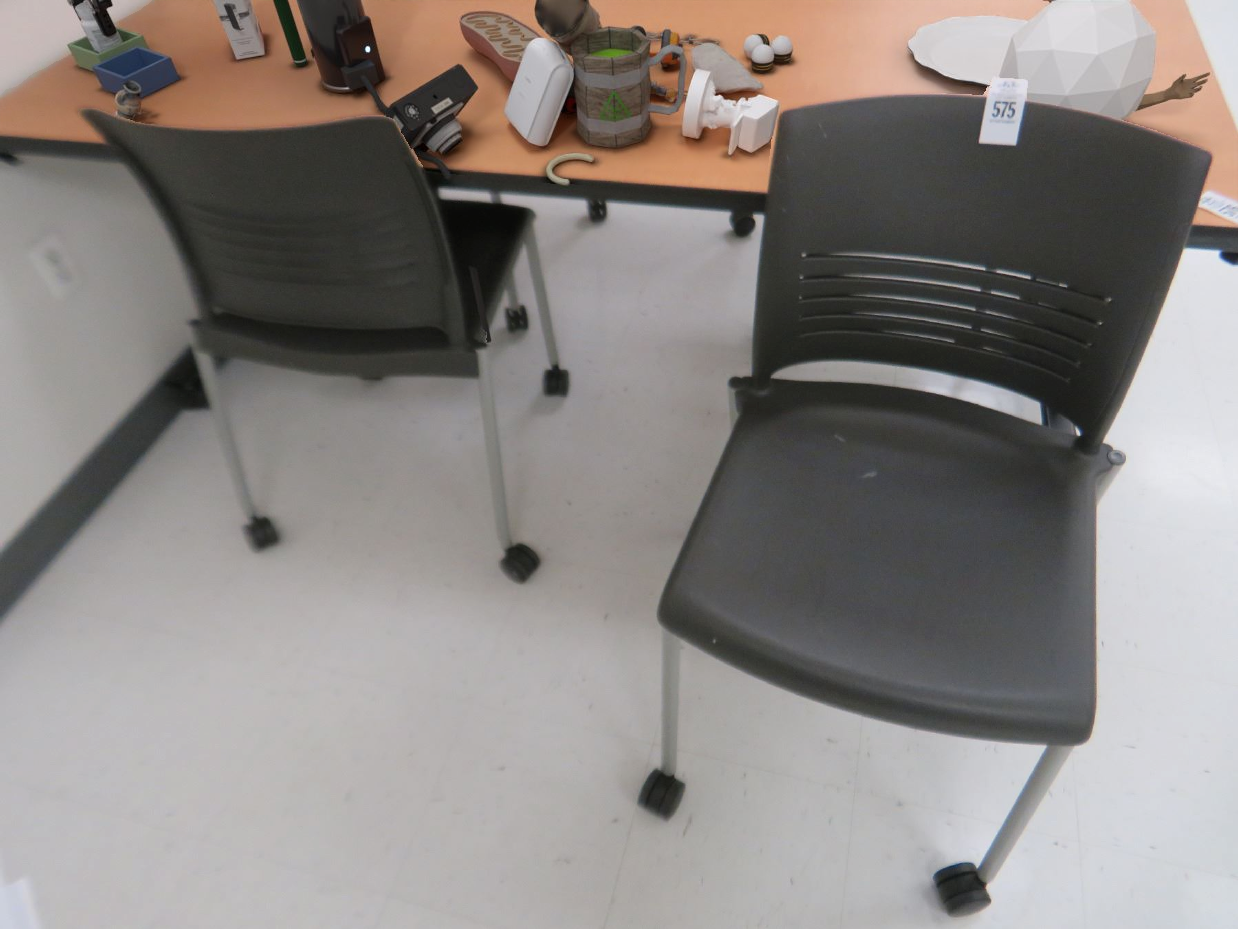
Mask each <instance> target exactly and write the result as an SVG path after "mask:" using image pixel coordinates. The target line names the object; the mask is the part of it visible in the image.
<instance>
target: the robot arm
mask: <svg viewBox="0 0 1238 929" xmlns="http://www.w3.org/2000/svg"><path fill="white" fill-rule="evenodd" d="M66 2H67V4H68V5H69V6H70V7H72V9H73V11H74V12H75V14H76V16H77V19H78V20H79V22H80V21H81V18H80V17H79V16H78V13H77V11H76V9H75V7H76V6H77V5H78V4H80V3H83V2H86V4H87V5H88V7H89V8H90V10H91V11H92V14H93V16H94V18H95V20H96V22H97V24H98V26H99V28H100V30H101V32H102V34H103V35H104V36H106V37H110V36H112V35H114V34H116V33H117V30H116V28H115V26H116V25H115V23H114V21H113V19H112V17H111V15H110V13H109V11H108V9H109V8H112V7H113V6H114V4H113V1H112V0H66ZM92 2H93V3H92ZM296 3H297V6H298V9H299V12H300V16H301V17H302V22H303V25H304V28H305V31H306V34H307V37H308V41H309V44H310V48H311V49H310V53H311V54H310V55H311V56H312V59H313V60H315V62H316V66H317V68H318V72H319V75H320V81H321V84H322V86H323V88H324V89H325V90H327V91H329V92H333V93H336V94H337V93H339V94H349V93H351V94H352V93H354V94H358V95H359V94H361V93H363V92H365V91H366V90H367V91H368V92H369V94H370V95H371V97H372V99H373V101H374V103H375V106H376V107H377V108H378V110H380V111H381V112H382V113H384V114H385V113H386V111H387V109H388V108H389V106H387V105H386V104H384V102H383V101H382V99H381V97H380V94H379V93H378V91H377V89H376V88H375V85H376V84H378V83H380V82H382V81H383V80H385V79H386V74H385V70H384V65H383V63H382V58H381V54H380V51H379V47H378V44H377V43H378V42H377V39H376V35H375V31H374V27H373V23H372V20H371V17H370V16H369V15H366V13H365V9H364V5H363V1H362V0H296ZM113 23H114V24H113ZM114 25H115V26H114ZM412 150H413V152H414V155H416V157H417V158H419V159H421V160H423V161H426V162H428V163H429V162H430V163H431V164H434V165H435V166H436V167H437V168H438V169H439V171H440V172H441V174H442V176H443V177H444V179H445V180H451V179H452V178H453V175H452V173H451V171H450V170H449V168H448V167H447V165H446V163H444V161H443V160H442V159H440V158H439V157H437V156H436V155H433V154H431V153H428V152H425V151H423V150H422V149H421V146H420V144H419V145H418V146H416V147H415V148H413V149H412ZM468 268H469V272H470V277H471V282H472V287H473V290H474V297H475V300H476V306H477V310H478V315H479V319H480V324H481V328H482V327H483V329H484V330H485V332H487V338H486V340H487V342H486V343H488V344H489V343H491V342H492V337H491V332H490V327H489V322H488V317H487V313H486V308H485V304H484V298H483V292H482V288H481V283H480V279H479V273H478V269H477V267H474V266H471V265H468ZM483 329H482V330H483ZM485 335H486V333H485Z"/></svg>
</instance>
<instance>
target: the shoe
mask: <svg viewBox="0 0 1238 929" xmlns="http://www.w3.org/2000/svg"><path fill="white" fill-rule="evenodd" d="M458 20H459V25H460V26H459V27H460V31H461V34H462V36H463V38H464V40H465V41H466V42H467V44H468V45H469V46H470V47H471V48H472V49H474V50H475V51H477V52H479V53H480V54H482V55H483V56H485V57H486V58H488V59H489V60H491V61H492V62H493V63H494V64H495V65H496V66H498V68H499V69H500V70H501V72H502V73H503V74H504V76H505V77H506V78H507V79H508V80H509V81H510V82H512V83H514V80H515V77H516V74H517V72H518V69H519V66H520V63H521V60H522V58H523V55H524V52H525V50H526V47H527V45H528V44H529V43H530V42H531V41H532V40H533V39H535V38H545V37H544V36H543V35H542V34H540V33H539V32H538V31H537V30H535V29H534V28H532V27H530V26H529V25H528V24H526V23H524V22H523V21H521V20H519V19H518V18H515V17H513V16H512V15H509V14H507V13H504V12H500V11H495V10H474V11H467V12H464V13H462V15H460V16H459V19H458Z"/></svg>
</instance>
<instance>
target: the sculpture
mask: <svg viewBox="0 0 1238 929" xmlns="http://www.w3.org/2000/svg"><path fill="white" fill-rule="evenodd" d="M534 16H535V20H536V22H537V24H538V25H539V27H540V28H541V29H542V30H544V32H545V34H547V35H548V36H549V38H550V39H552V40H553V41H554V42H556V43H557V44H559V45H560V46H561V47H562V48H563V50H564V51H565V52H566V54H567V55H568V56H570V57H572V53H571V48H570V46H571V44H572V43H573V42H574V41H575V40H576V39H577V37H578V36H579V35H580V34H581V33H583V32H587V31H591V30H595V29H600V28H603V24H602V23H601V19H600V18H601V16H600V13H599V12H598V11H597V10H596V8H594V7H593V6H592V5H591V3H590V0H535V5H534Z"/></svg>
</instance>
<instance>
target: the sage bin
mask: <svg viewBox="0 0 1238 929" xmlns="http://www.w3.org/2000/svg"><path fill="white" fill-rule="evenodd" d="M115 27H116V29H117V31H118V33H119V35H120V37H121V40H122V42H123V43H121V44H119V45H116V46H114V47H112V48H110V49H107V50H105V51H103V52H101V53H99V54H98V53H96V52H95V51H94V49H93V47H92V45H91V43H90V41H89V40H88V38H87V36H86V35H85V36H83V37H81V38H78V39H77V40H74V41H71V42H70V43H67V44H66V46H67V47H68V50H69V51H70V53H71V56H72V57H73V59H74V61H75V62H76V65H77V66H78V67H80V68H83V69H85V70H87V71H90V72H93V73H95V72H94V71H93V69H92V66H94V65H97V64H99V63H101V62H103V61H105V60H108V59H110V58H112V57H114V56H116V55H119V54H121V53H123V52H125V51H127V50H129V49H132V48H134V47H136V46H140V47H143V48H146V49H149V50H150V48H149V46H148V43H147V41H146V39H145V37H144V35H143V34H140V33H137V32H134V31H131V30H128V29H125V28H123V27H119V26H116V25H115Z"/></svg>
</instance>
